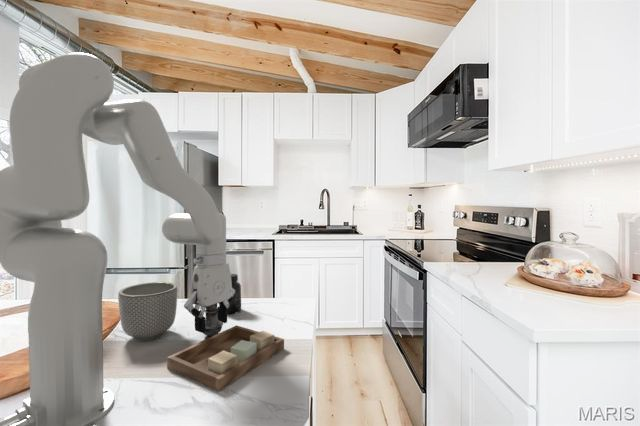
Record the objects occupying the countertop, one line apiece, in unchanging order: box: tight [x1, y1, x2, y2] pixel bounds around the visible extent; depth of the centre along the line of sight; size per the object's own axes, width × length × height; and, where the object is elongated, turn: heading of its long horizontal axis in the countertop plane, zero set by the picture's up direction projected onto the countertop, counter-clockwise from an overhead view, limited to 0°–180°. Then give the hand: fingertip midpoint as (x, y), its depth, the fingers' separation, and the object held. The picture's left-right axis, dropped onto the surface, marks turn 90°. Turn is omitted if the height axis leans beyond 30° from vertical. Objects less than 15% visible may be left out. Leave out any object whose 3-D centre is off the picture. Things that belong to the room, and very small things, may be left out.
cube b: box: [231, 340, 257, 364], centre depth 68 cm, size 4×4×4 cm
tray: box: [166, 324, 285, 393], centre depth 71 cm, size 20×16×3 cm
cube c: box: [250, 330, 275, 352], centre depth 74 cm, size 4×4×4 cm
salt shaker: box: [202, 303, 224, 338], centre depth 82 cm, size 6×6×12 cm
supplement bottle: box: [227, 273, 242, 315], centre depth 103 cm, size 7×7×12 cm
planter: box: [117, 281, 179, 343], centre depth 83 cm, size 14×14×13 cm
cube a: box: [208, 351, 237, 375], centre depth 63 cm, size 4×4×4 cm
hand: (211, 325), depth 83 cm, fingers open, 6 cm apart
